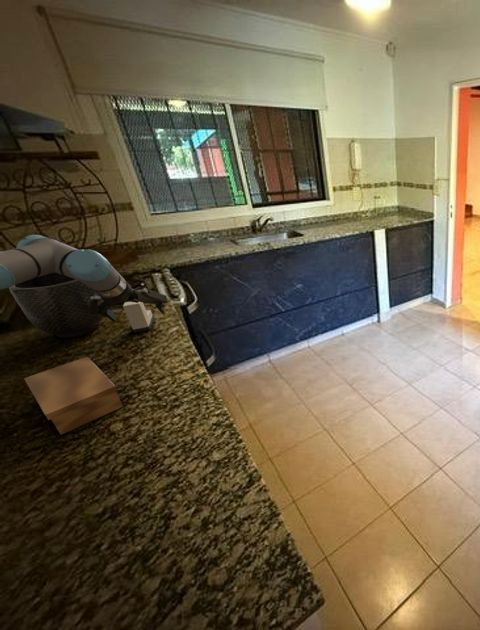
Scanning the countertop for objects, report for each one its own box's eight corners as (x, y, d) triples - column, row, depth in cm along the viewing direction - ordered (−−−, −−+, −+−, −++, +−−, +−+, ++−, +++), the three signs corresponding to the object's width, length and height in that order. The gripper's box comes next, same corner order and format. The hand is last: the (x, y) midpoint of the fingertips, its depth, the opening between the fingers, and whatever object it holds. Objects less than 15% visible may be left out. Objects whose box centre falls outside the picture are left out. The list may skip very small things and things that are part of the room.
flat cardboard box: (58, 436, 74) (45, 414, 72) (35, 397, 86) (23, 378, 83) (125, 405, 83) (115, 385, 80) (96, 374, 95) (87, 356, 92)
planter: (117, 313, 130) (96, 265, 122) (113, 333, 116) (89, 280, 107) (46, 327, 120) (18, 275, 112) (31, 351, 105) (-3, 294, 97)
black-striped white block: (150, 329, 118) (139, 303, 114) (133, 332, 116) (122, 306, 112) (154, 318, 126) (144, 293, 122) (139, 320, 124) (128, 295, 120)
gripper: (54, 306, 93) (93, 331, 112) (164, 290, 104) (183, 315, 122) (53, 282, 95) (91, 311, 114) (160, 269, 106) (179, 297, 124)
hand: (139, 313), depth 118 cm, fingers open, 13 cm apart
